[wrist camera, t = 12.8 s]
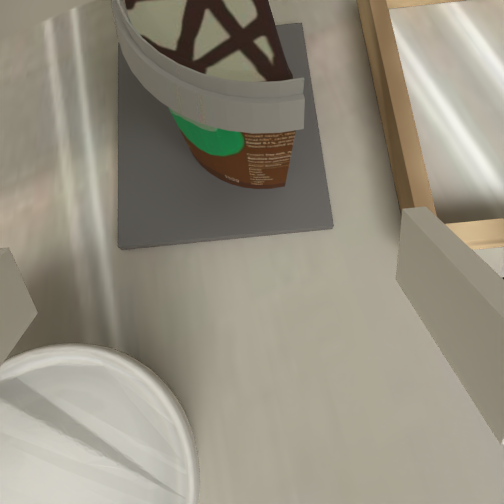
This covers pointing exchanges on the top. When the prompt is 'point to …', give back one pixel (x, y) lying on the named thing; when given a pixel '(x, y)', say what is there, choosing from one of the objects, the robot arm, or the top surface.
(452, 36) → the top surface
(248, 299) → the top surface
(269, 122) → the food container
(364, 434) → the top surface
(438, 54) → the top surface
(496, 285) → the robot arm
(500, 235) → the oak frame
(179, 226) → the charcoal mat
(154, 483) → the ramekin
